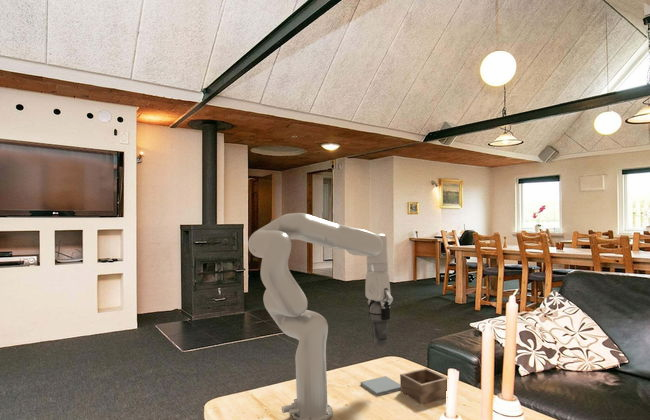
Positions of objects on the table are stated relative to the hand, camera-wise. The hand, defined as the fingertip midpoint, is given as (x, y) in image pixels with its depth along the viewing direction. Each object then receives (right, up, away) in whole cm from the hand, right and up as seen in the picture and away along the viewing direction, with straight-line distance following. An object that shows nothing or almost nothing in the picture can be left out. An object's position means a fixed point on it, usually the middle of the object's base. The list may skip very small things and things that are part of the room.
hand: (379, 317), depth 146 cm
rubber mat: (+1, -25, -1) cm, 25 cm away
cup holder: (+14, -24, -8) cm, 29 cm away
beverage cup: (0, -10, 0) cm, 10 cm away
